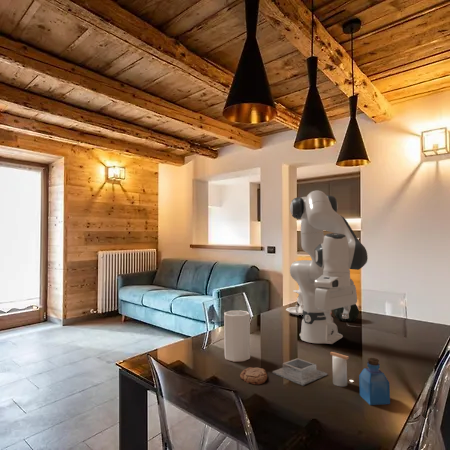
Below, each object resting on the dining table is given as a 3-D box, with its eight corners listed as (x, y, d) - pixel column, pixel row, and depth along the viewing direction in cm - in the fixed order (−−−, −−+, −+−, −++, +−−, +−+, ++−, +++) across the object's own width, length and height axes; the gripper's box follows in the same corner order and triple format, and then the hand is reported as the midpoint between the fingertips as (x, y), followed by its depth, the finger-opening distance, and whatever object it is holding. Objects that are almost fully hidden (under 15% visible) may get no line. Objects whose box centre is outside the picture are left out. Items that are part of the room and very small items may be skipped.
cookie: (249, 387, 110) (249, 378, 110) (235, 375, 120) (235, 367, 120) (274, 382, 114) (274, 373, 114) (259, 371, 124) (259, 363, 124)
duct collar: (296, 364, 130) (296, 354, 130) (327, 374, 119) (327, 364, 119) (272, 373, 121) (272, 363, 121) (303, 385, 110) (302, 374, 110)
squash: (361, 309, 207) (344, 291, 209) (365, 315, 192) (347, 295, 194) (343, 323, 209) (327, 305, 211) (347, 330, 194) (329, 311, 197)
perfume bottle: (359, 395, 103) (358, 356, 104) (378, 394, 103) (377, 355, 104) (370, 405, 97) (368, 363, 97) (390, 404, 97) (388, 362, 98)
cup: (232, 364, 130) (231, 317, 131) (219, 355, 140) (219, 311, 141) (255, 359, 136) (255, 313, 137) (241, 351, 145) (241, 309, 146)
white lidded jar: (335, 378, 115) (334, 350, 116) (352, 384, 110) (351, 355, 111) (327, 382, 113) (327, 353, 113) (344, 388, 108) (344, 358, 108)
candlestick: (280, 317, 210) (279, 273, 211) (290, 310, 232) (289, 270, 233) (312, 320, 200) (311, 274, 202) (320, 312, 223) (319, 271, 224)
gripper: (345, 277, 122) (346, 314, 122) (311, 281, 110) (312, 323, 109) (361, 278, 117) (362, 317, 117) (327, 283, 105) (328, 327, 104)
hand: (337, 320), depth 113 cm, fingers open, 8 cm apart
